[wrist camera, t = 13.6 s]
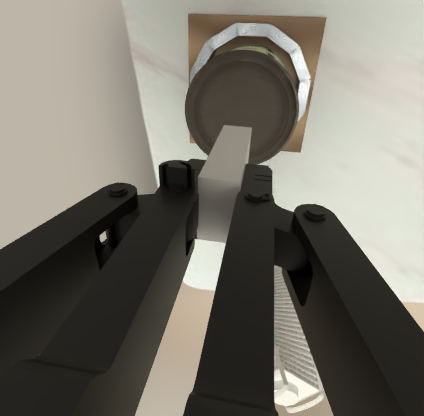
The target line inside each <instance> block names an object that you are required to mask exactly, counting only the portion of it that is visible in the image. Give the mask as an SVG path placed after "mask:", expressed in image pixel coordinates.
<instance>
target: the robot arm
mask: <svg viewBox="0 0 424 416" xmlns="http://www.w3.org/2000/svg"><path fill="white" fill-rule="evenodd" d="M251 132H252V127H240V126H229V125H224V126H223V128H222V130H221V132H220V134H219V136H218V138H217V140H216V142H215V144H214V146H213V148H212V150H211V152H210V154H209V156H208V158H207V160H199V159H190V160H189V161H182V160H172V161H166V162H163V163H161V164H160V165H159V180H160V187H159V188H158V190H157V191H156V192H155V194H147V195H137V188H136V187H135V186H133V185H131V184H127V183H114V184H111V185H108V186H105V187H103V188H101V189H100V190H98V191H97V192H95V193H93V194H92V195H90V196H88V197H86V198H85V199H83V200H81V201H80V202H78V203H77V204H75V205H73V206H72V207H70V208H68V209H67V210H65V211H63V212H62V213H60V214H58V215H57V216H55V217H53V218H52V219H50V220H48V221H47V222H45V223H43V224H42V225H40V226H38V227H37V228H35V229H33V230H32V231H30V232H28V233H27V234H25V235H23V236H22V237H20V238H19V239H17V240H15V241H14V242H12V243H10V244H9V245H7V246H5V247H4V248H2V249H0V416H135V413H136V410H137V407H138V404H139V402H140V399H141V396H142V393H143V390H144V387H145V385H146V382H147V379H148V376H149V373H150V371H151V368H152V365H153V362H154V359H155V356H156V354H157V351H158V348H159V345H160V342H161V340H162V336H163V334H164V331H165V328H166V325H167V322H168V320H169V317H170V314H171V311H172V309H173V306H174V302H175V300H176V297H177V294H178V291H179V289H180V286H181V283H182V280H183V277H184V275H185V272H186V269H187V266H188V263H189V261H190V258H191V255H192V252H193V249H194V244H195V234H196V231H197V239H202V240H209V241H216V242H223V243H226V246H225V250H224V255H223V259H222V264H221V268H220V273H219V277H218V282H217V286H216V291H215V295H214V300H213V304H212V309H211V313H210V318H209V322H208V326H207V331H206V335H205V340H204V345H203V349H202V354H201V358H200V363H199V368H198V371H197V377H196V380H195V384H194V388H193V391H192V392H191V393H190V394H189V397H188V400H187V403H186V407H185V411H184V414H183V416H278V412H277V411H276V409H275V404H274V265H276V266H278V267H281V268H282V276H283V278H284V281H285V284H286V287H287V289H288V292H289V295H290V297H291V300H292V303H293V306H294V308H295V311H296V314H297V317H298V319H299V322H300V325H301V328H302V330H303V333H304V336H305V339H306V341H307V344H308V347H309V349H310V352H311V355H312V358H313V360H314V363H315V366H316V369H317V371H318V374H319V377H320V380H321V382H322V385H323V388H324V390H325V393H326V396H327V399H328V401H329V404H330V407H331V410H332V412H333V415H334V416H424V332H423V330H422V329H421V328H420V326H419V325H418V324H417V323H416V321H415V320H414V319H413V317H412V316H411V315H410V313H409V312H408V311H407V309H406V308H405V307H404V306H403V304H402V303H401V301H400V300H399V299H398V297H397V296H396V295H395V293H394V292H393V291H392V289H391V288H390V287H389V286H388V284H387V283H386V282H385V280H384V279H383V278H382V276H381V275H380V274H379V272H378V271H377V270H376V268H375V267H374V266H373V264H372V263H371V262H370V260H369V259H368V258H367V256H366V255H365V254H364V252H363V251H362V250H361V248H360V247H359V246H358V245H357V243H356V242H355V241H354V239H353V238H352V237H351V235H350V234H349V233H348V231H347V230H346V229H345V227H344V226H343V225H342V223H341V222H340V221H339V219H338V218H337V217H336V215H335V214H334V213H333V212H331V211H330V210H329V209H327V208H325V207H323V206H320V205H316V204H303V205H300V206H298V207H296V209H295V210H294V212H291V211H288V210H286V209H283V208H281V207H279V206H278V205H276V204H275V203H274V198H273V195H272V170H271V169H270V168H269V167H268V166H265V165H255V164H248V159H249V150H250V141H251ZM104 231H106V236H107V239H106V240H105V241H103V242H100V238H99V236H100V235H101V234H102V233H103V232H104Z"/></svg>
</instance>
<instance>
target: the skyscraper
mask: <svg viewBox="0 0 424 416" xmlns="http://www.w3.org/2000/svg"><path fill="white" fill-rule="evenodd" d="M319 393H320V396H319V397H318V398H316V399H314V400H313V401H311V402H308V403H306V404H304V405H301V406H298V407H295V408H290V406H292V405H295V404H297V403H299V402H301V401H303V400H305V399H308V398H310V397H312V396H314V395H316V394H319ZM323 397H324V391H323V387H322V382H321V380H320V377H319V374H318V371H317V369H316V366H315V363H314V360H313V358H312V355H311V352H310V349H309V347H308V344H307V341H306V339H305V336H304V333H303V330H302V328H301V325H300V322H299V319H298V317H297V314H296V311H295V308H294V306H293V303H292V300H291V297H290V295H289V292H288V289H287V287H286V284H285V281H284V278H283V276H282V268H281V267H278V266H276V265H274V403H277V404H279V405H284V406H285V407H286V410H287V411H288V412H289V413H295V412H298V411H302V410H304V409H307V408H309V407H312V406H314V405H316V404H317V403H319V402H320V401H321V400H322V399H323Z"/></svg>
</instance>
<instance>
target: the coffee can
mask: <svg viewBox="0 0 424 416" xmlns="http://www.w3.org/2000/svg"><path fill="white" fill-rule="evenodd" d="M185 116H186V122H187V126H188V129H189V131H190V134H191V136H192V137H193V139H194V141H195V142H196V144H197V145H198V146H199V147H200V149H201V150H202V151H203V152H204V153H206V154H207V155H208V156H209V154H210V152H211V150H212V148H213V146H214V144H215V142H216V140H217V138H218V136H219V134H220V132H221V130H222V128H223V126H224V125H229V126H240V127H252V132H251V141H250V150H249V159H248V164H255V165H257V164H260V163H262V162H265V161H267V160H269V159H270V158H272V157H273V156H275V155H276V154H277V153H279V152H280V151H281V150H282V149H283V148H284V147H285V145H286V144H287V143H288V141H289V140H290V138H291V137H292V135H293V133H294V130H295V128H296V125H297V121H298V116H299V99H298V93H297V89H296V86H295V84H294V82H293V80H292V78H291V76H290V74H289V73H288V71H287V68H286V65H285V63H284V62H283V60H282V59H281V57H280V56H279V55H278V54H277V53H276V52H274V51H273V50H272V49H270V48H268V47H266V46H263V45H260V44H245V45H241V46H238V47H235V48H233V49H232V50H230V51H228V52H225V53H222V54H219V55H217V56H215V57H214V58H212V59H211V60H209V61H208V62H207V63H206V64H205V65H203V66H202V67H201V68H200V70H199V71H198V72H197V73H196V75H195V76H194V78H193V80H192V81H191V84H190V86H189V88H188V92H187V96H186V102H185Z"/></svg>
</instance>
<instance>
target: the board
mask: <svg viewBox="0 0 424 416" xmlns="http://www.w3.org/2000/svg"><path fill="white" fill-rule="evenodd" d="M188 18H189V86H190V73H191V72H190V71H191V69H192V67H193V65H194V63H195V61H196V59H197V57H198V55H199V54H200V52H201V50H202V48H203V46H204V44H205V42H206V41H208V40H209V39H211V38H212V37H214V36H215V35H217V34H219V33H220V32H222V31H223V30H225V29H227V28H228V27H230V26H231V25H233V24H235V23H259V24H270V26H271V25H273V26H275V27H276V28H277V29H278V30H280V31H281V32H282V33H284V34H285V35H286V36H288V37H289V38H290V39H292V40H293V41H294V42H296V43H297V44H298V45H299V46H300V49H301V51H302V54H303V57H304V60H305V63H306V66H307V68H308V71H309V74H310V77H311V83H310V88H309V93H308V99H307V104H306V109H305V112H304V115H303V116H302V117H301V118H300V120H299V121H298V122H297V125H296V128H295V130H294V133H293V135H292V137H291V138H290V140H289V141H288V143H287V144H286V145H285V147H284V148H283V149H282V150H281V151H290V152H301V147H302V142H303V136H304V131H305V126H306V121H307V116H308V110H309V105H310V100H311V95H312V90H313V84H314V79H315V74H316V69H317V64H318V58H319V53H320V48H321V43H322V38H323V33H324V27H325V22H326V18H321V17H283V16H246V15H208V14H188ZM245 44H260V45H263V46H266V47H268V48H270V49H272V50H273V51H274V52H276V53H277V54H278V55H279V56H280V57H281V59H282V60H283V62H284V63H285V65H286V68H287V71H288V73H289V74H290V76H291V78H292V80H293V82H294V84H295V86H296V88H297V82H298V76H297V74H296V71H295V68H294V65H293V63H292V60H291V57H290V55H289V53H288V52H287V51H285V50H284V49H283V48H281V47H280V46H279V45H277V44H276V43H275V42H273V41H272V40H271V39H269V38H268V37H266V36H238V37H236V38H235V39H233V40H231V41H230V42H228V43H226V44H225V45H223V46H221V47H220V48H218V49H217V50H216V52H215V54H214V56H213V57H212V58H214V57H215V56H217V55H219V54H222V53H225V52H228V51H230V50H232V49H233V48H235V47H238V46H241V45H245ZM190 143H196V142H195V141H194V139H193V137H192V136H191V134H190Z"/></svg>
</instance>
